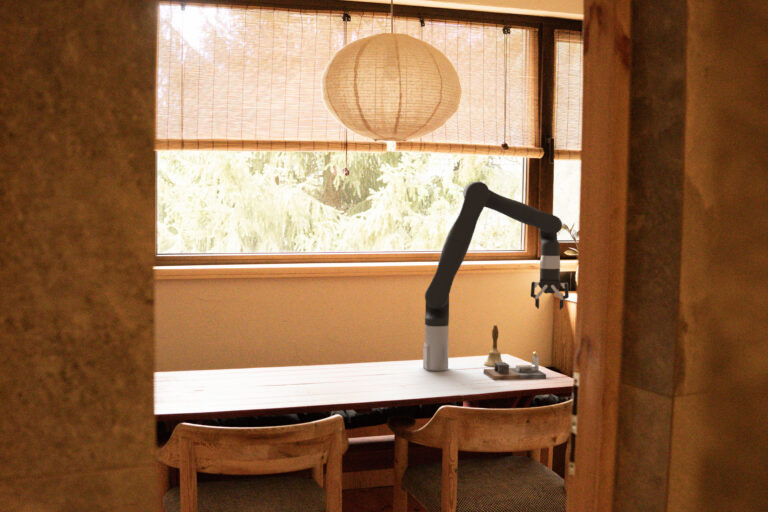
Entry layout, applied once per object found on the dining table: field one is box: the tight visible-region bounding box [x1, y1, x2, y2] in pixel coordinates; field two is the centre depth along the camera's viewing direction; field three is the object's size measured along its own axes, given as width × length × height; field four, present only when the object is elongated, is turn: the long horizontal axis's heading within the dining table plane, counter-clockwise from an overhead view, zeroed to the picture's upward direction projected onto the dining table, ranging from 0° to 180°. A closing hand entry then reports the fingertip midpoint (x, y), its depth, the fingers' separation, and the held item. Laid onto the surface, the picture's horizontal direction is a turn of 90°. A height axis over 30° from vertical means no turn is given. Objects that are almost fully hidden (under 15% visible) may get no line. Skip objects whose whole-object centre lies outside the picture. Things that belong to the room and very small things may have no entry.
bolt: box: [515, 351, 540, 372], centre depth 264 cm, size 8×2×7 cm, turn 100°
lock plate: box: [483, 361, 547, 381], centre depth 263 cm, size 20×12×5 cm, turn 100°
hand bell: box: [483, 324, 503, 368], centre depth 283 cm, size 8×8×16 cm
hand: (549, 308), depth 273 cm, fingers open, 8 cm apart
